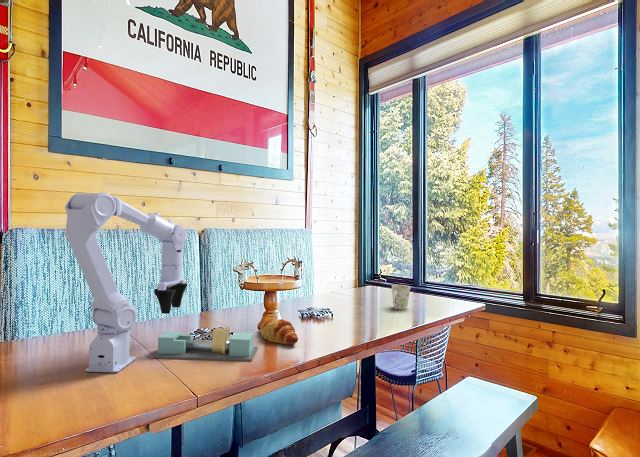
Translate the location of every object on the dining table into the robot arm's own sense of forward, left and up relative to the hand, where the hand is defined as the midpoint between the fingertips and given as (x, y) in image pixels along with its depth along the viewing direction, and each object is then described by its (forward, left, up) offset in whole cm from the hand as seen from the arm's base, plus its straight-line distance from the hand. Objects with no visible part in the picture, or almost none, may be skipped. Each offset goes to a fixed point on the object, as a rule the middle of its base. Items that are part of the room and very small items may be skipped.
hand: (171, 310), depth 111 cm
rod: (-6, -15, -10) cm, 19 cm away
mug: (+57, -80, -11) cm, 99 cm away
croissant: (+10, -31, -11) cm, 35 cm away
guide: (-6, -13, -10) cm, 18 cm away
